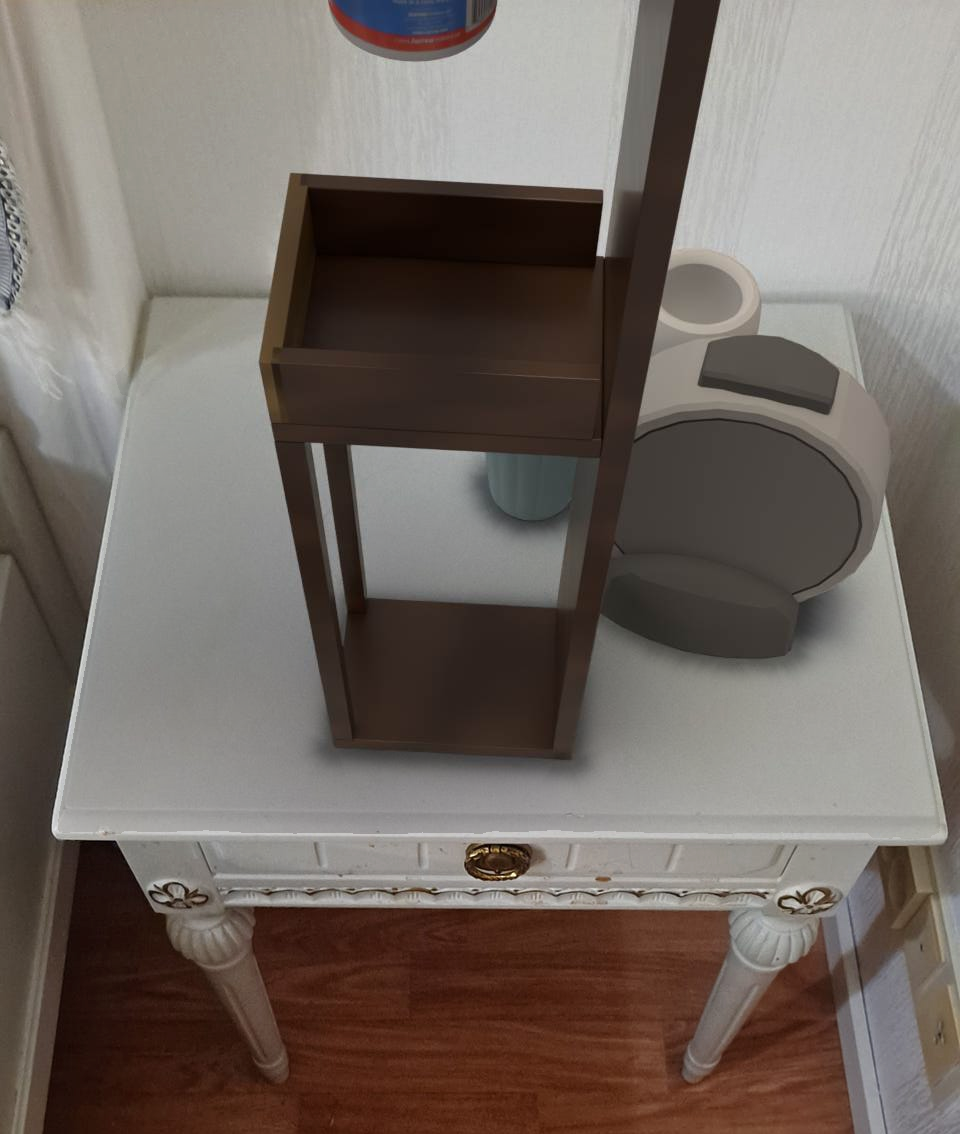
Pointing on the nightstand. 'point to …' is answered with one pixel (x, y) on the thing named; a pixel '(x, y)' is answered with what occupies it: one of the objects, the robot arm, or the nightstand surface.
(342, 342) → the rack
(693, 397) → the alarm clock
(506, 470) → the cup
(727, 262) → the mug
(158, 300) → the nightstand surface
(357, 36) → the pill bottle
